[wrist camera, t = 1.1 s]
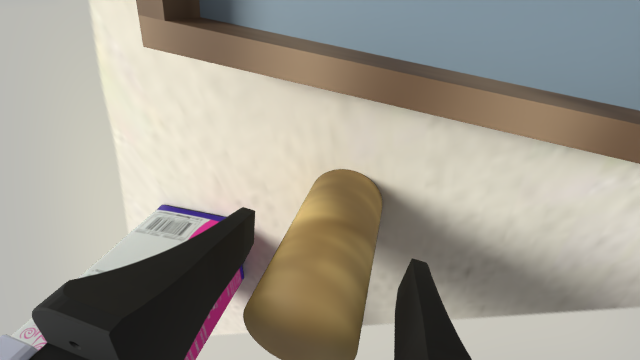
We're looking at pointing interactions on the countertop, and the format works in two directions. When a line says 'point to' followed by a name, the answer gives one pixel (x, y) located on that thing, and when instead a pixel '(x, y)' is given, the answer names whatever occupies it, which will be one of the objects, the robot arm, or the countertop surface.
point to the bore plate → (473, 37)
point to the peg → (320, 273)
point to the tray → (394, 81)
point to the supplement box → (147, 241)
